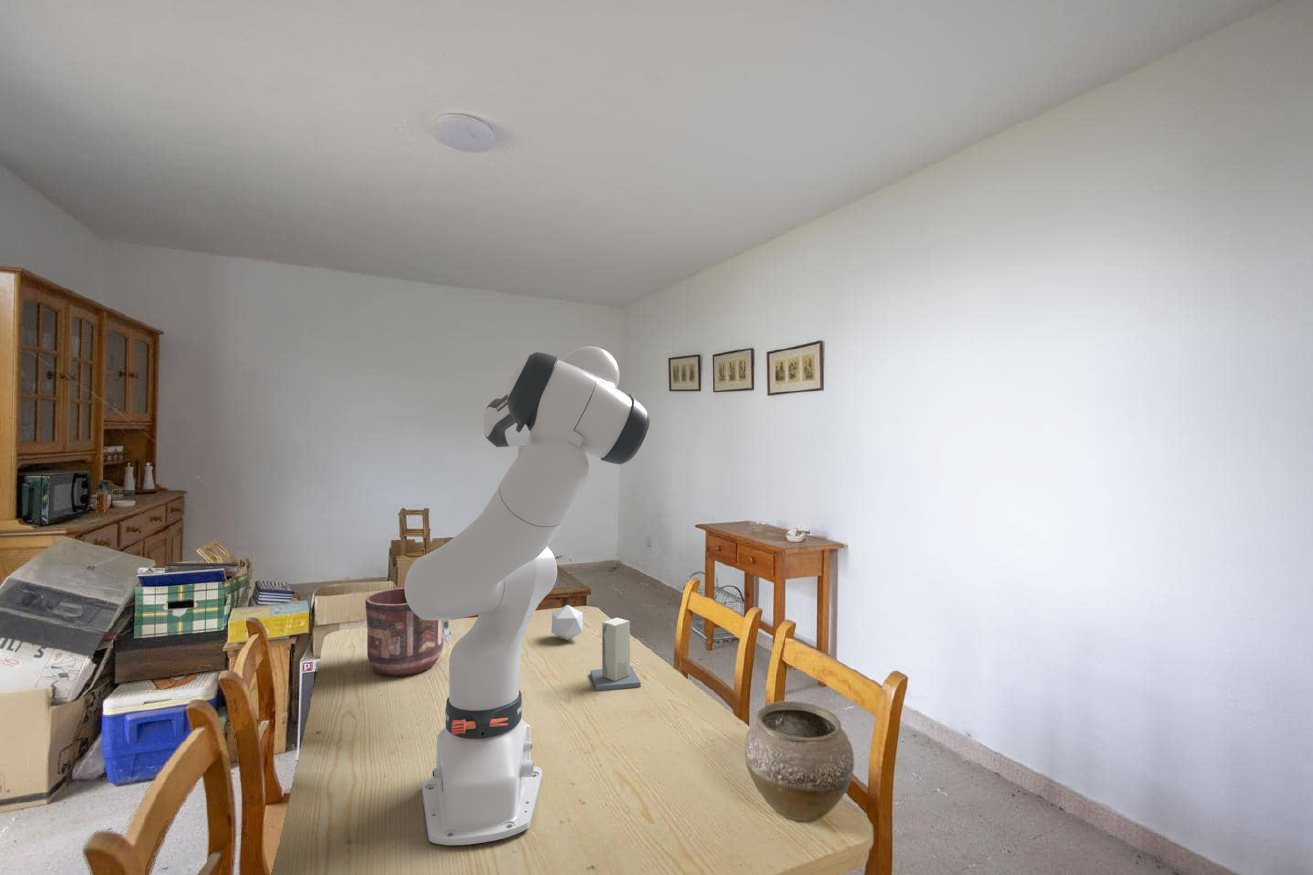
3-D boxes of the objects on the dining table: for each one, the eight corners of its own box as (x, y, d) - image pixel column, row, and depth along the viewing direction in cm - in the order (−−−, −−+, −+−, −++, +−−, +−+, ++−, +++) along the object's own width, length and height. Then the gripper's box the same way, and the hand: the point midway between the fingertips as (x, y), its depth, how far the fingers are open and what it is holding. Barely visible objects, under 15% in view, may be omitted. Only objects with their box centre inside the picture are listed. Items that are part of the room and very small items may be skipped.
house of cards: (418, 640, 169) (418, 612, 169) (450, 636, 173) (451, 609, 173) (421, 650, 161) (421, 621, 161) (455, 645, 165) (456, 617, 165)
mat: (640, 686, 137) (640, 682, 137) (596, 690, 135) (596, 686, 135) (631, 670, 147) (631, 666, 147) (590, 674, 144) (590, 669, 144)
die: (571, 633, 175) (572, 599, 175) (588, 641, 168) (589, 605, 168) (545, 639, 170) (546, 603, 170) (562, 648, 163) (562, 610, 163)
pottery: (420, 686, 136) (420, 606, 137) (348, 681, 139) (349, 602, 139) (457, 659, 154) (458, 587, 154) (394, 654, 157) (394, 584, 157)
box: (617, 671, 144) (617, 616, 144) (630, 675, 141) (631, 620, 141) (600, 677, 140) (601, 621, 140) (614, 682, 137) (614, 625, 137)
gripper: (555, 461, 128) (555, 527, 128) (549, 459, 148) (548, 516, 147) (525, 461, 126) (524, 528, 126) (522, 459, 146) (522, 516, 146)
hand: (537, 521), depth 137 cm, fingers open, 8 cm apart
